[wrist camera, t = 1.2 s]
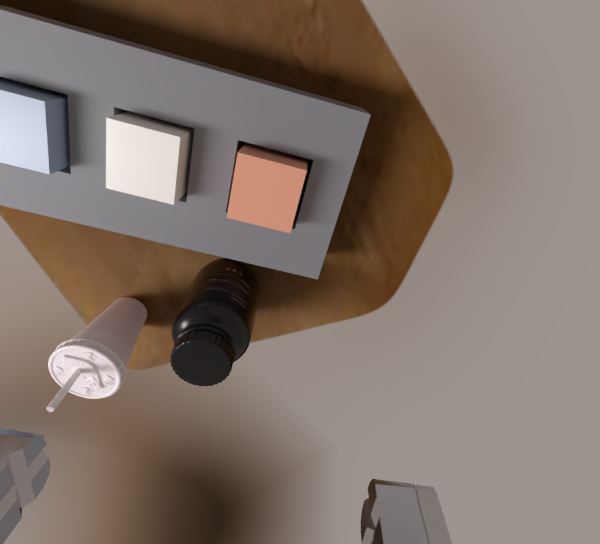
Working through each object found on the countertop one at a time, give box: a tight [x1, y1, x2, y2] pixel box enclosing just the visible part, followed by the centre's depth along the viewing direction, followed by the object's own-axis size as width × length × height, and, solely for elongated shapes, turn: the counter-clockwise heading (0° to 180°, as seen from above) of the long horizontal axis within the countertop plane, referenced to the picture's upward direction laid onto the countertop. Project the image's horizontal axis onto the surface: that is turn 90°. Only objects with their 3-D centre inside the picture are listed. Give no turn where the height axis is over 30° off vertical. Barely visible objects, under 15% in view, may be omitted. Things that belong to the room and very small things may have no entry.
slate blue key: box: [0, 79, 70, 174], centre depth 28 cm, size 5×5×4 cm
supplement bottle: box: [170, 260, 259, 386], centre depth 35 cm, size 7×7×12 cm
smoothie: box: [46, 297, 147, 412], centre depth 36 cm, size 6×6×14 cm
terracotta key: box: [227, 142, 307, 233], centre depth 30 cm, size 5×5×4 cm
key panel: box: [0, 5, 371, 279], centre depth 31 cm, size 30×14×5 cm, turn 76°
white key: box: [106, 111, 195, 205], centre depth 29 cm, size 5×5×4 cm
